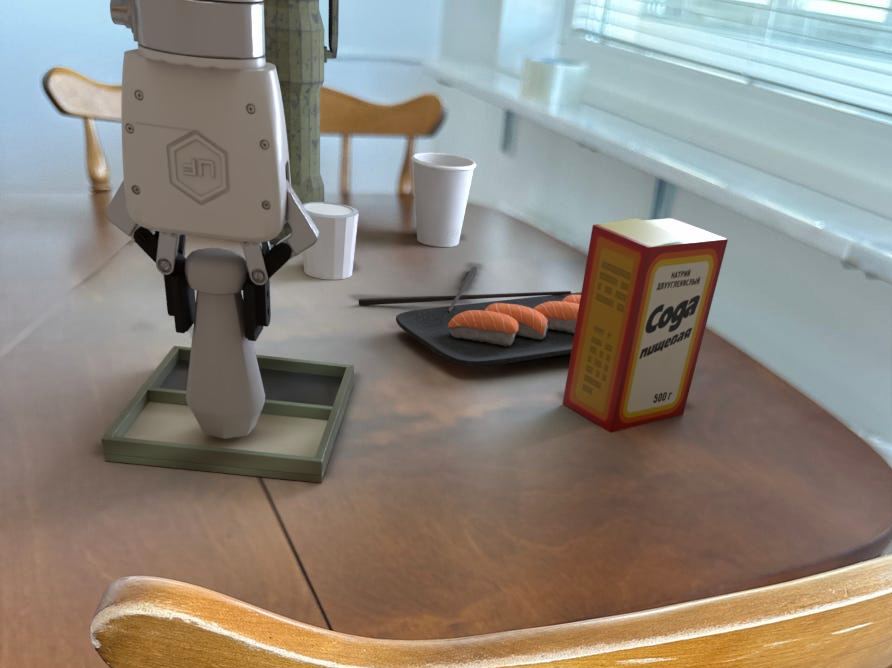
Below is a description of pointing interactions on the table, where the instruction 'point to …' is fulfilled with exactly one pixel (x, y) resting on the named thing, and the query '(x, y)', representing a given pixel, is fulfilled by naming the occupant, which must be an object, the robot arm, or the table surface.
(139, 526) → the table surface
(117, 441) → the sorting tray
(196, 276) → the salt shaker
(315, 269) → the white faceted cup
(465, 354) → the sushi plate
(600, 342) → the baking soda box
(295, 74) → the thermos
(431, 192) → the dixie cup
